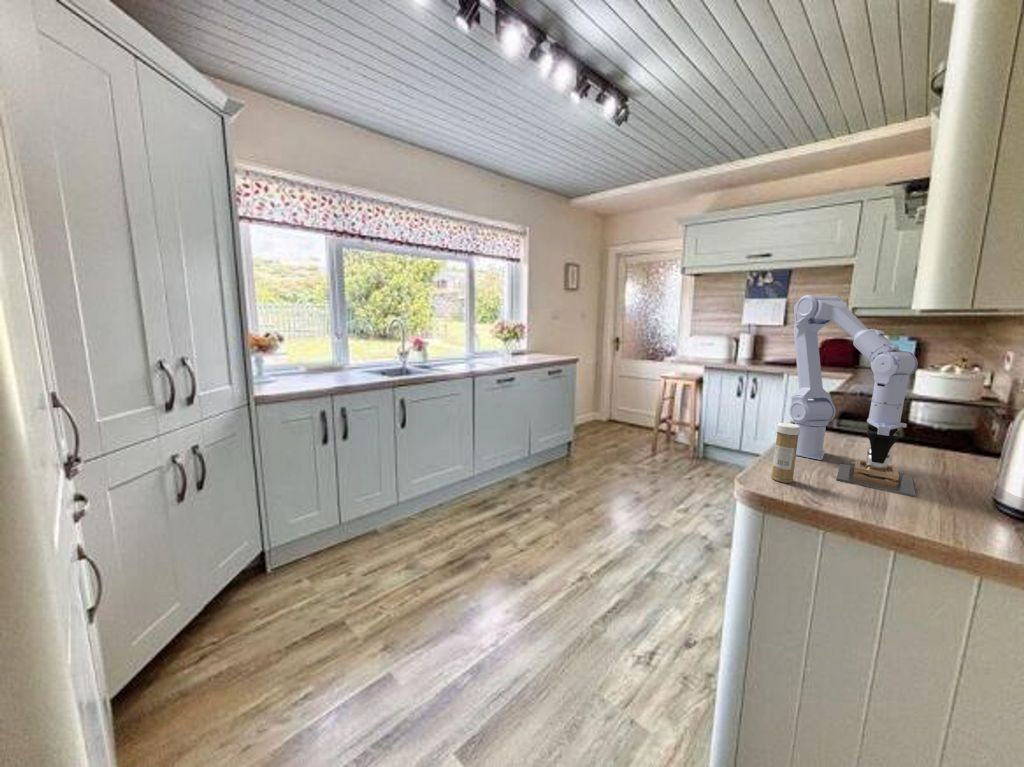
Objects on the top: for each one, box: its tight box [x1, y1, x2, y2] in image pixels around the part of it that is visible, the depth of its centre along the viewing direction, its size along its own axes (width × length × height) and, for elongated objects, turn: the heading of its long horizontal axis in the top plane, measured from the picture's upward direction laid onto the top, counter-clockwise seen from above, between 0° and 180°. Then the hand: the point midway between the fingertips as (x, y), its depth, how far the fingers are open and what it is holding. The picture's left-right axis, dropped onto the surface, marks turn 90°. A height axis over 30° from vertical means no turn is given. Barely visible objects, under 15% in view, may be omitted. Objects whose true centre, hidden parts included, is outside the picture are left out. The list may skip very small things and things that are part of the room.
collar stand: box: [836, 459, 916, 498], centre depth 106 cm, size 14×14×3 cm
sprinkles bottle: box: [770, 422, 800, 484], centre depth 103 cm, size 5×5×14 cm
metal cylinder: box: [864, 446, 891, 479], centre depth 105 cm, size 4×4×7 cm
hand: (877, 458), depth 105 cm, fingers open, 7 cm apart
